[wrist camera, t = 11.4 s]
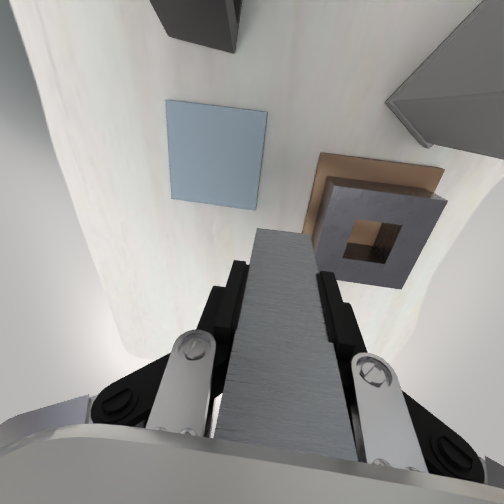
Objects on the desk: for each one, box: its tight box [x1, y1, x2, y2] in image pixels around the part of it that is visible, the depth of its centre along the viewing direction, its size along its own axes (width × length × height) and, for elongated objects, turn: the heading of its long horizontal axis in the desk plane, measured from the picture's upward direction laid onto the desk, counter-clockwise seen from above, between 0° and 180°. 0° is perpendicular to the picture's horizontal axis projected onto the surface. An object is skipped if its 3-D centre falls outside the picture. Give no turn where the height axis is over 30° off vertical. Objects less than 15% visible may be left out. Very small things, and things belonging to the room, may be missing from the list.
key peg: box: [213, 228, 358, 462], centre depth 10 cm, size 3×3×11 cm
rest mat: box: [165, 100, 267, 210], centre depth 27 cm, size 10×10×1 cm
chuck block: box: [311, 176, 448, 289], centre depth 26 cm, size 10×10×4 cm
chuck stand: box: [302, 153, 445, 246], centre depth 28 cm, size 14×12×1 cm
